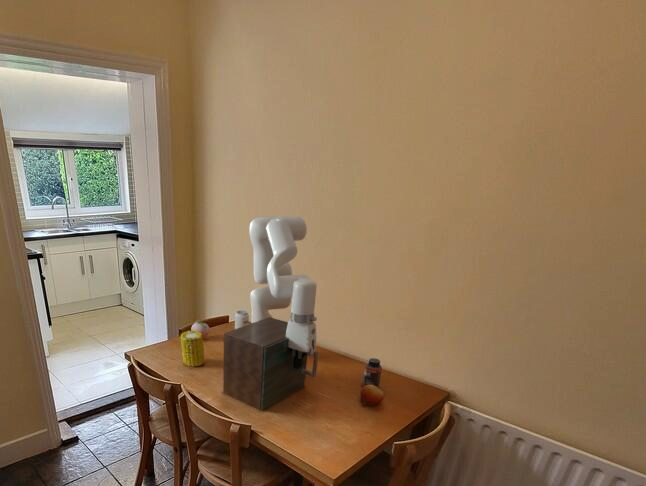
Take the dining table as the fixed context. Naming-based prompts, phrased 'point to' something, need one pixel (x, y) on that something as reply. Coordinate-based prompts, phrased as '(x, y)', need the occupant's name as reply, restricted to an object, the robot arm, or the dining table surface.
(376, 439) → the dining table surface
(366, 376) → the supplement bottle
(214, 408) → the dining table surface
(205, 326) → the decorative fruit
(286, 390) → the door
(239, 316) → the beverage can
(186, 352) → the food
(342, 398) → the dining table surface
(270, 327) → the cupboard
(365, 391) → the fruit
